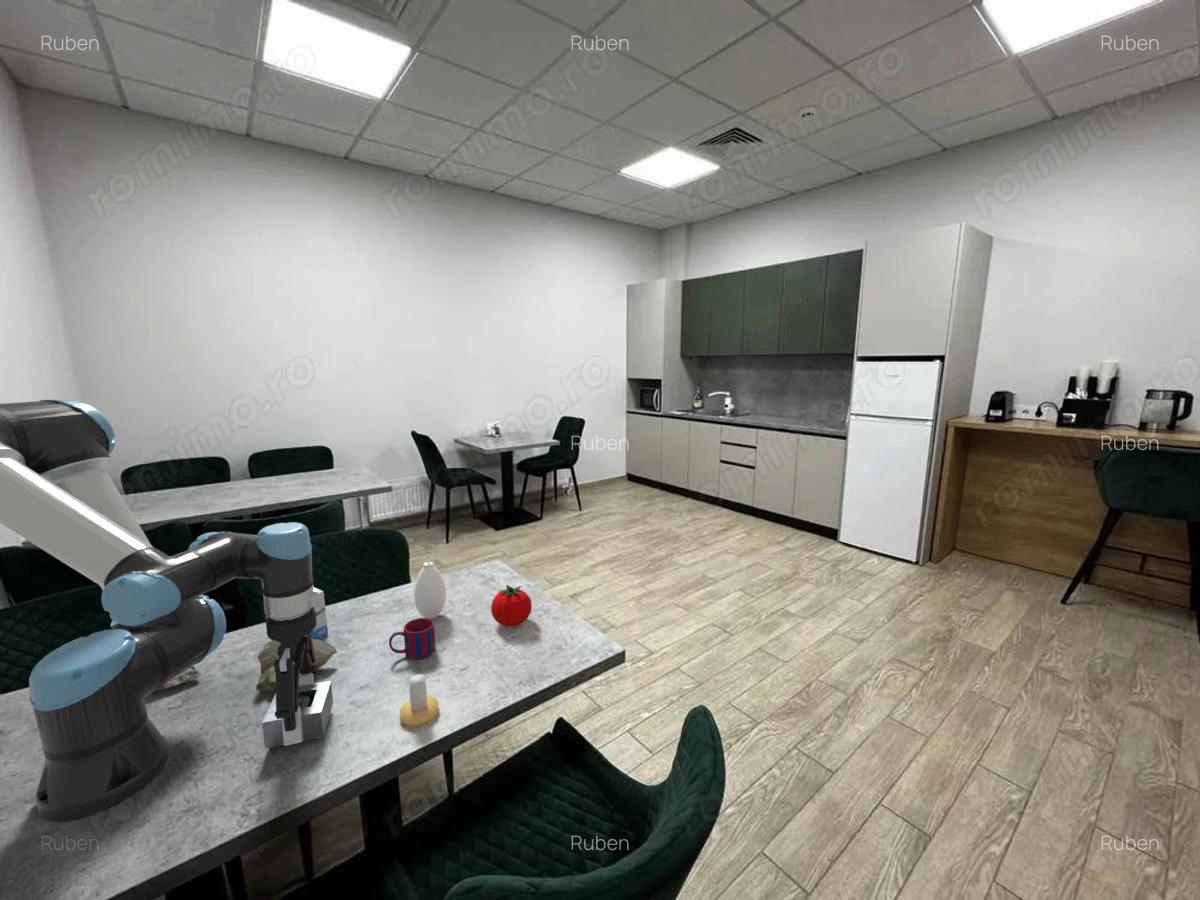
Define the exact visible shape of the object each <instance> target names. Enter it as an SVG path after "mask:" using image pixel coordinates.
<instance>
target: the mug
mask: <svg viewBox="0 0 1200 900" xmlns="http://www.w3.org/2000/svg"><path fill="white" fill-rule="evenodd" d="M397 636H403V639H404V642H403V643H404V649H397V648H394V647H393V645H392V644H393V643H392V642H393V639H394V638H395V637H397ZM388 646H389V648H390V650H391V651H392V652H393V653H397V654H405V656H406V658H408V659H410V660H414V661H415V660H417V661H418V660H423V659H427V658H429V657H430V656H432V655H434V653H435V652H436V648H437V647H436V631H435V621H434V620H433V619H429V618H425V617H418V618H415V619H412V620H410V621H408V622H406V623H405V624H404V626H403V631H397V632H394V633H392V634H391V635H390V636H389V641H388Z"/></svg>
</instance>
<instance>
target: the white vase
mask: <svg viewBox="0 0 1200 900" xmlns="http://www.w3.org/2000/svg"><path fill="white" fill-rule="evenodd" d="M413 595H414V597H413V598H414V603H415V608H416V610H417V612H418V613H419V615H420V616H421V617H422V618H429V619H432V620H433V619H435V618H437V617H438V616H439V615H440V614H441V613H442V611H443V609H444V608H445V605H446V599H447V591H446V585H445V581H444V578H443V576H442V575H441V572H440V571H439V569H438V568H437V567H436V565H434V562H433V561H430V557H429V554H428V553H427V555H426V562H424V563H423V564H422V568H421V569H420V571H419V573H418V576H417V579H416V582H415V586H414V594H413Z"/></svg>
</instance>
